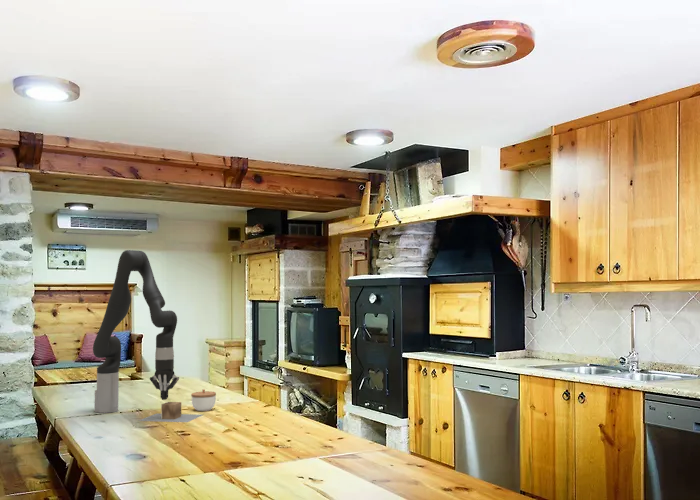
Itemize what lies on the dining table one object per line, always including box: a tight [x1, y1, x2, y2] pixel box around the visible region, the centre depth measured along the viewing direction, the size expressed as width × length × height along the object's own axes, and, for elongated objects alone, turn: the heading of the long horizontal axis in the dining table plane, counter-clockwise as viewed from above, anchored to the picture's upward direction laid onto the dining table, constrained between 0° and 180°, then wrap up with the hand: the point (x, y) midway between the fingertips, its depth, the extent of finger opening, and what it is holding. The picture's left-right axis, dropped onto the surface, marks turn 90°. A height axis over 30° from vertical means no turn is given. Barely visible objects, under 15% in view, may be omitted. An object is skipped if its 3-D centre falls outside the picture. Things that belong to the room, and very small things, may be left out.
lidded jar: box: [190, 388, 217, 412], centre depth 293 cm, size 11×11×9 cm
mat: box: [137, 413, 203, 423], centre depth 275 cm, size 22×16×1 cm
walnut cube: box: [160, 401, 182, 419], centre depth 275 cm, size 6×6×6 cm
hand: (164, 399), depth 276 cm, fingers closed
